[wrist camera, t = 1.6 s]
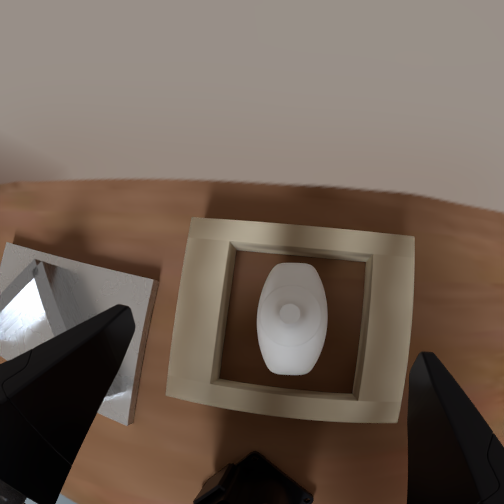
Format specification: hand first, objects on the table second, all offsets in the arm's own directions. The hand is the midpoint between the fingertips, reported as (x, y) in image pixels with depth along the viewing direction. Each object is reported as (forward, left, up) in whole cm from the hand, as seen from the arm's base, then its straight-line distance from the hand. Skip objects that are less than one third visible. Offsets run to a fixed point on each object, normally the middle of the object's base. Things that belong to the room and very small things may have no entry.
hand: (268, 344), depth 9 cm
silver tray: (+15, +14, -13) cm, 25 cm away
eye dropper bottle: (0, -1, -14) cm, 14 cm away
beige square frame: (0, -1, -13) cm, 14 cm away
